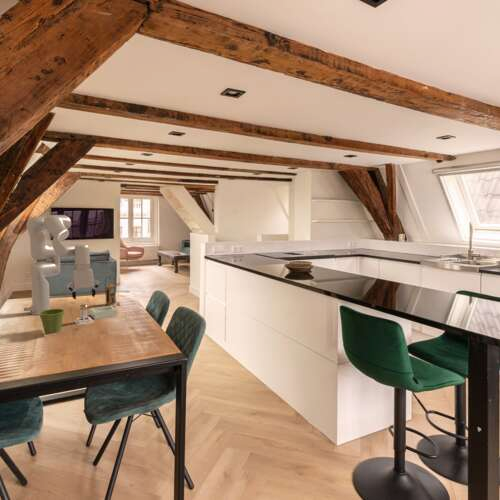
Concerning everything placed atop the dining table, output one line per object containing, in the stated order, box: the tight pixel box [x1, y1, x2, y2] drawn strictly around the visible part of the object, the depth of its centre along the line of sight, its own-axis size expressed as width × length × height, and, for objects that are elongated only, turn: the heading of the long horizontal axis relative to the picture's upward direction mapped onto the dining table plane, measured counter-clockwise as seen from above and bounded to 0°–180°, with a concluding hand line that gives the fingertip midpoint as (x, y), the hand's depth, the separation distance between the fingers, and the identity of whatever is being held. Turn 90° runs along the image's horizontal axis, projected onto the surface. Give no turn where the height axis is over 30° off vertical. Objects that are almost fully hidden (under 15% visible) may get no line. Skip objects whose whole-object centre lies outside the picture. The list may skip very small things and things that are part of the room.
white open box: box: [89, 305, 117, 320], centre depth 216 cm, size 12×12×5 cm
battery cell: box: [79, 303, 89, 320], centre depth 203 cm, size 4×4×10 cm
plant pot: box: [38, 308, 66, 336], centre depth 185 cm, size 12×12×11 cm
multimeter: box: [104, 274, 121, 308], centre depth 247 cm, size 15×10×20 cm
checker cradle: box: [73, 316, 95, 326], centre depth 203 cm, size 9×9×2 cm
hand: (84, 297), depth 202 cm, fingers open, 9 cm apart
